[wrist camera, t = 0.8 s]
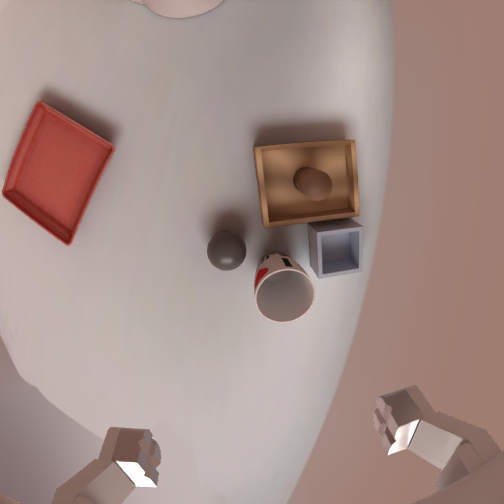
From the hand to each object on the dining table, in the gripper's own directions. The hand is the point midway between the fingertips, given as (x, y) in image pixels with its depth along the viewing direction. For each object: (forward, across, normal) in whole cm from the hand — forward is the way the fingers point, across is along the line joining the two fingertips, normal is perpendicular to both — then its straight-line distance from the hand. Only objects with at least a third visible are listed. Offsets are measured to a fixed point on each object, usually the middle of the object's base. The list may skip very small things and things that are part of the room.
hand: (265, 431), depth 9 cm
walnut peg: (+37, -11, -4) cm, 39 cm away
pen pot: (+38, -14, +6) cm, 41 cm away
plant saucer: (+38, +28, -12) cm, 49 cm away
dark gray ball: (+38, +2, +5) cm, 38 cm away
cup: (+38, -5, +10) cm, 40 cm away
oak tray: (+38, -11, -4) cm, 40 cm away
